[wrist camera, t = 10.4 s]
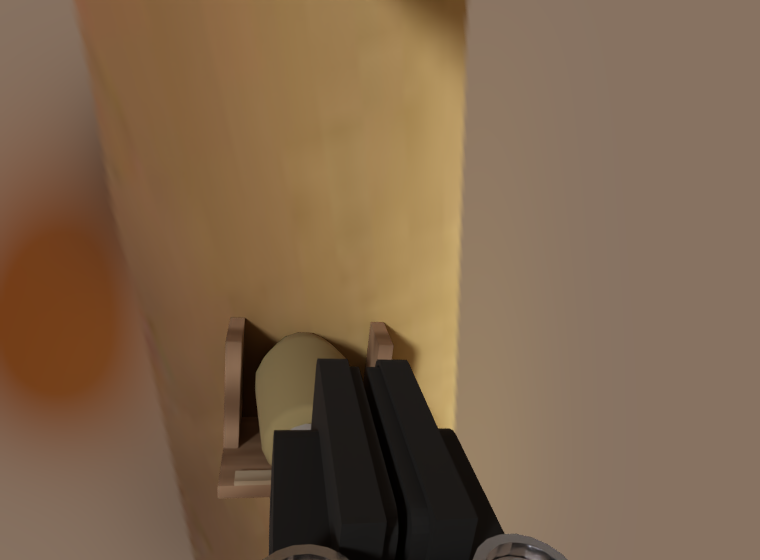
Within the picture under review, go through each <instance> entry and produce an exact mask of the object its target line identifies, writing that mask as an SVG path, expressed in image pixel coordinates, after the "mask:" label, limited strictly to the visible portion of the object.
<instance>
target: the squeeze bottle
mask: <svg viewBox="0 0 760 560" xmlns="http://www.w3.org/2000/svg"><path fill="white" fill-rule="evenodd" d="M318 358H326V359H346V358H345V357H344V356H343V355H342V354H341V353H340V352H339V351H338V350H337V349H336V348H335V347H334V346H333V345H331V344H330V343H329V342H328V341H326V340H325V339H324V338H322V337H320V336H317V335H315V334H313V333H301V332H298V333H295V334H292V335H289V336H286V337H284V338H283V339H282V340H281V341H279V342H278V343H277V344H276V345H275V346H274V347H273V348H272V349H271V350H270V351H269V352H268V353H267V354H266V356H265V357H264V358H263V360H262V362H261V364H260V366H259V368H258V370H257V371H256V381H255V393H256V401H257V410H258V419H259V428H260V436H261V445H262V451H263V453H264V455H265V457H266V459H267V462H268V463H269V464H270V465H271V466H272V451H273V435H274V430H311V422H312V410H313V397H314V385H315V373H316V364H317V359H318Z"/></svg>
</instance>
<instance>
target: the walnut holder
mask: <svg viewBox="0 0 760 560" xmlns="http://www.w3.org/2000/svg"><path fill="white" fill-rule="evenodd" d="M244 331H245V318H230V322H229V327H228V332H227V337H226V350H225V398H224V445H223V455H222V461H221V468H220V475H219V482H218V499H224V498H254V497H270V492H271V470H272V466H271V465H270V464H269V463H268V462H267V459H266V457H265V455H264V453H263V451H262V445H261V436H260V428H259V419H258V417H242V390H243V360H244ZM393 346H394V345H393V343H392V341H391V338H390V336H389V334H388V331H387V329H386V327H385V324H384V323H383V322H371V324H370V333H369V341H368V349H367V358H366V366H365V369H366V367H375V364H376V361H377V360H378V359H384V360H392V353H393Z"/></svg>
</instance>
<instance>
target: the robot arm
mask: <svg viewBox="0 0 760 560" xmlns="http://www.w3.org/2000/svg"><path fill="white" fill-rule="evenodd" d="M263 560H567V559H566V558H565V556H564V555H562V554H561V553H560V552H558V551H557V550H555V549H554V548H553V547H551V546H550V545H548V544H546V543H544V542H542V541H539V540H537V539H535V538H532V537H529V536H523V535H519V534H504V532H503V530H502V528H501V526H500V524H499V522H498V520H497V517H496V515H495V513H494V511H493V509H492V507H491V505H490V503H489V501H488V499H487V497H486V495H485V493H484V491H483V489H482V487H481V485H480V483H479V481H478V479H477V477H476V475H475V473H474V471H473V469H472V467H471V465H470V462H469V460H468V458H467V456H466V454H465V453H464V450H463V448H462V446H461V444H460V442H459V440H458V438H457V436H456V434H455V433H454V431H453V430H451V429H438V427H437V425H436V423H435V421H434V418H433V416H432V414H431V412H430V410H429V407H428V405H427V403H426V401H425V398H424V396H423V394H422V392H421V389H420V387H419V385H418V383H417V381H416V378H415V376H414V374H413V372H412V369H411V367H410V365H409V363H408V361H407V360H384V359H378V360H377V361H376V364H375V367H366V369H365V374H364V382H363V381H362V377H361V374H360V370H359V367H349V363H348V360H347V359H326V358H318V359H317V364H316V373H315V385H314V397H313V410H312V422H311V430H274V435H273V451H272V470H271V492H270V525H269V556H268V557H266V558H265V559H263Z"/></svg>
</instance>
